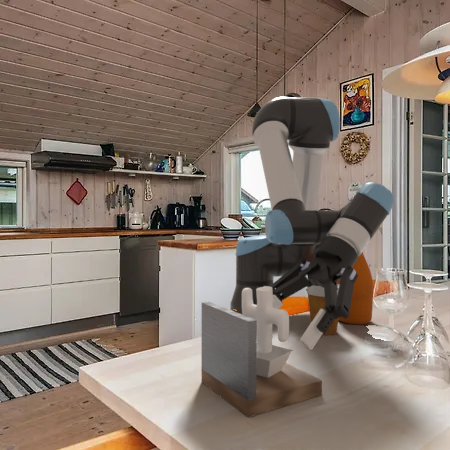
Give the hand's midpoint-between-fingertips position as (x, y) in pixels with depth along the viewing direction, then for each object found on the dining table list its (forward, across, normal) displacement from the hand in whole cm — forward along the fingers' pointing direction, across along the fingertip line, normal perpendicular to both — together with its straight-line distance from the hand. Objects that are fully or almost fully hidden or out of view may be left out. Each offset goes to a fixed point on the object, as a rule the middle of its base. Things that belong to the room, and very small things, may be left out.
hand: (280, 334), depth 75 cm
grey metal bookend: (+12, 0, +4) cm, 13 cm away
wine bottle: (-25, +24, -38) cm, 52 cm away
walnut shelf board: (+9, 0, -3) cm, 10 cm away
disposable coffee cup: (-15, +21, -28) cm, 38 cm away
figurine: (+7, +1, -2) cm, 7 cm away
